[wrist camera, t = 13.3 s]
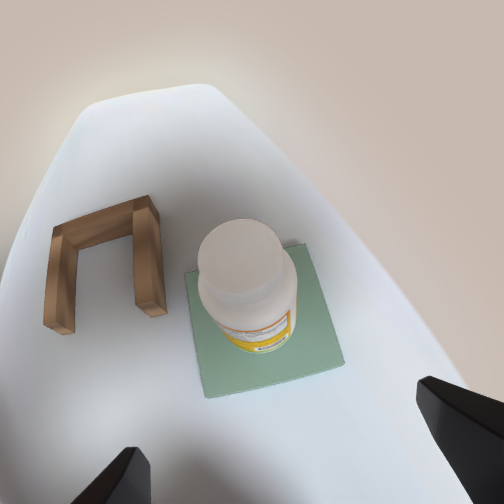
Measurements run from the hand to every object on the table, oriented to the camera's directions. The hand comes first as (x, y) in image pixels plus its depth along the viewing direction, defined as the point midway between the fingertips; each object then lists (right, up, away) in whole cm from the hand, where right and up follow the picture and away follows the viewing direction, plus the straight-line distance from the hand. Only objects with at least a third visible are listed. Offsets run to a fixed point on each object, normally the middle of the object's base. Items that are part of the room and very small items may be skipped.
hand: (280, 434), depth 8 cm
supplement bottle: (0, 0, +15) cm, 15 cm away
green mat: (0, 0, +16) cm, 16 cm away
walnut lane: (-14, +4, +20) cm, 25 cm away
